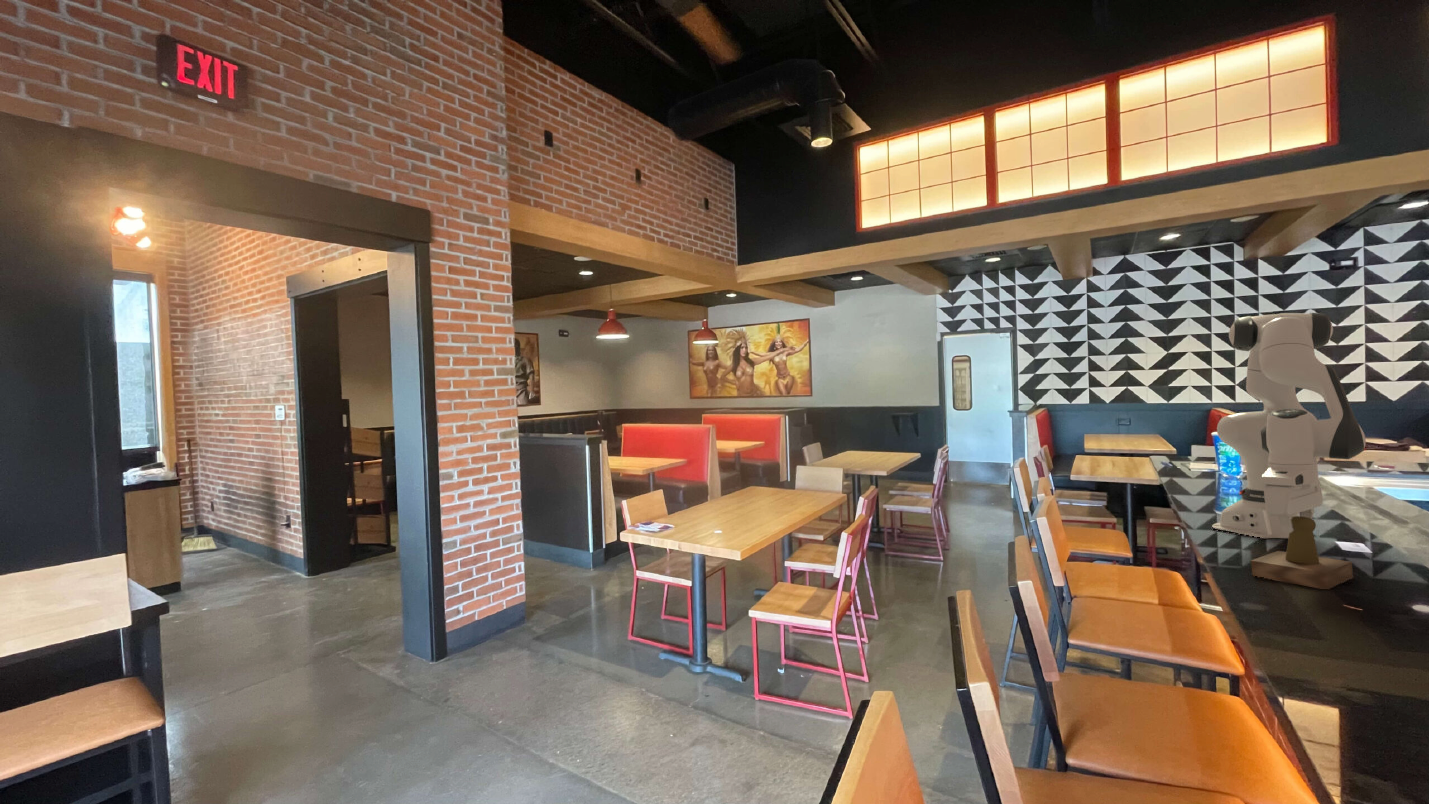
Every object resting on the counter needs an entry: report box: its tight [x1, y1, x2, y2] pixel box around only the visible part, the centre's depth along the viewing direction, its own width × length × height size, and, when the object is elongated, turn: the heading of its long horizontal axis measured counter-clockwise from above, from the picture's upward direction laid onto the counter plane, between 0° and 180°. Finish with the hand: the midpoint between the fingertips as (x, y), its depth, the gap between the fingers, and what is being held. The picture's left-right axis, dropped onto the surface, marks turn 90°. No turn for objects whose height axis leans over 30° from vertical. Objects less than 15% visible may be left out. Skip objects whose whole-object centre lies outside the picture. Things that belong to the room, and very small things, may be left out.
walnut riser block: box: [1250, 550, 1354, 590], centre depth 147 cm, size 14×14×4 cm
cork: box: [1285, 515, 1319, 564], centre depth 147 cm, size 6×6×11 cm
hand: (1297, 529), depth 147 cm, fingers open, 8 cm apart
